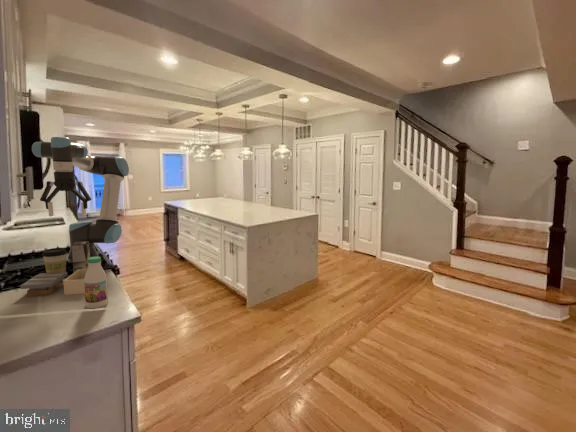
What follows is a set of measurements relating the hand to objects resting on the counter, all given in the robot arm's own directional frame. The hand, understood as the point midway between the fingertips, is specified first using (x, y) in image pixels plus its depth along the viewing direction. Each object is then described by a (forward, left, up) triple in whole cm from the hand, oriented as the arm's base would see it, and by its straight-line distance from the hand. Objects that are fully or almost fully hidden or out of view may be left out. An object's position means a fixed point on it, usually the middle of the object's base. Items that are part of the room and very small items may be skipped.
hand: (67, 215), depth 145 cm
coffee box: (-10, +1, -32) cm, 33 cm away
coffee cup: (-1, -7, -32) cm, 33 cm away
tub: (+14, +9, -32) cm, 36 cm away
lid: (+14, -5, -27) cm, 31 cm away
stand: (+14, -5, -32) cm, 35 cm away
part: (+10, +9, -31) cm, 34 cm away
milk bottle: (+34, +21, -32) cm, 51 cm away
